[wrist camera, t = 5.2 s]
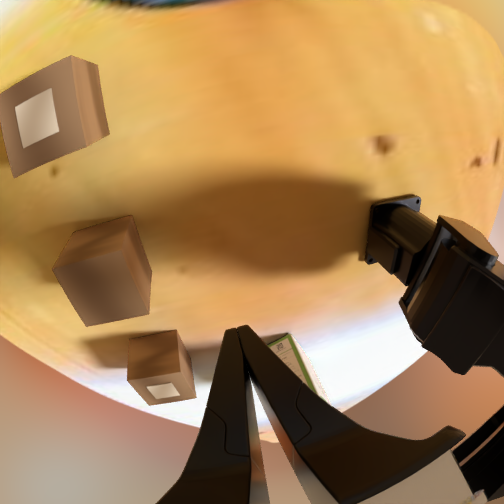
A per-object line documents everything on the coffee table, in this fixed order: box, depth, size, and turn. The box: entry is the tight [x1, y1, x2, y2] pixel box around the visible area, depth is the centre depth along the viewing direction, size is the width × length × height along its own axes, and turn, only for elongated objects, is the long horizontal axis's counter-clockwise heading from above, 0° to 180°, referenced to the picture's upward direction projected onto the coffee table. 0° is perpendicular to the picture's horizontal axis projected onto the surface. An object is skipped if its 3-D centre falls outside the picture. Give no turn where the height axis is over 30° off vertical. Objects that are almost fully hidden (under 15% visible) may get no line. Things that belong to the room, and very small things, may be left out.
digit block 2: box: [127, 330, 197, 406], centre depth 24 cm, size 5×5×5 cm
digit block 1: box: [0, 55, 110, 178], centre depth 11 cm, size 5×5×5 cm
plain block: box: [52, 215, 152, 327], centre depth 17 cm, size 5×5×5 cm
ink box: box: [267, 334, 332, 406], centre depth 25 cm, size 7×4×13 cm, turn 28°
